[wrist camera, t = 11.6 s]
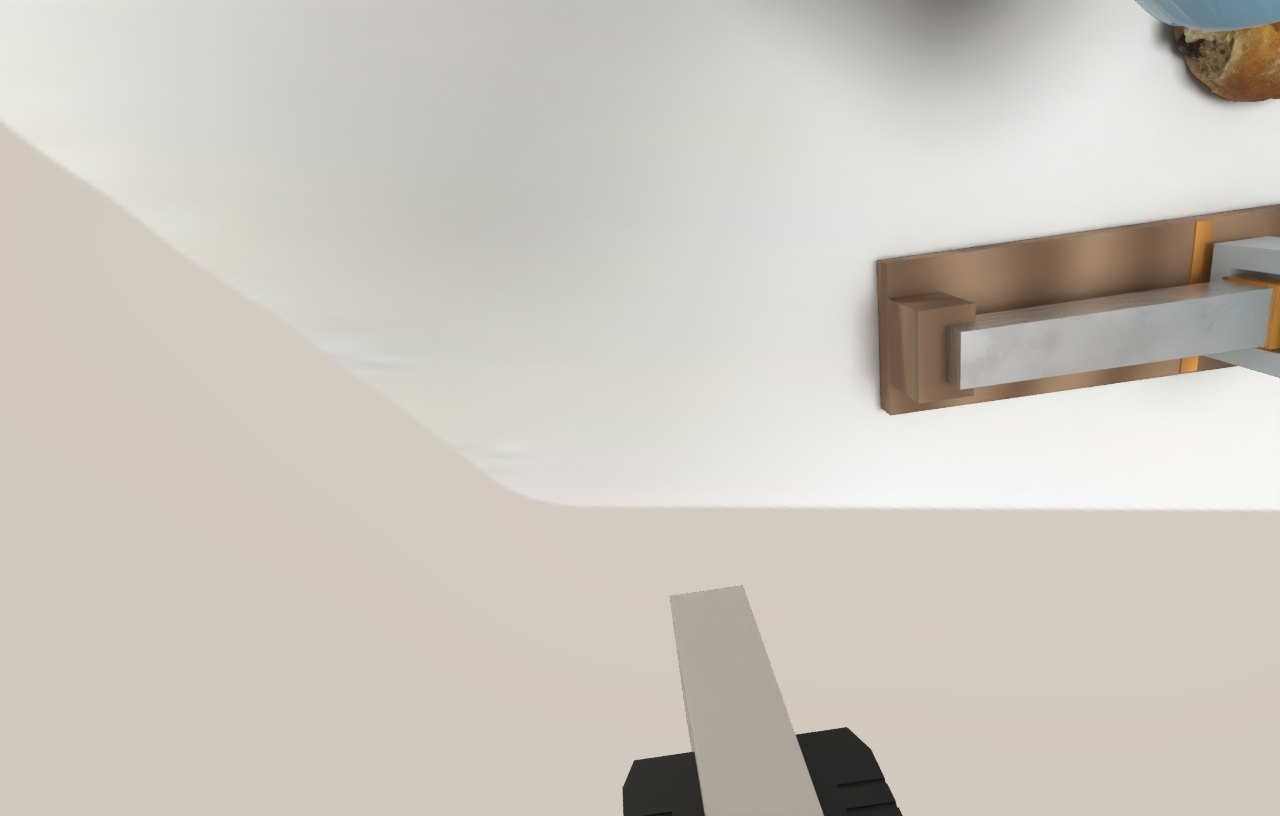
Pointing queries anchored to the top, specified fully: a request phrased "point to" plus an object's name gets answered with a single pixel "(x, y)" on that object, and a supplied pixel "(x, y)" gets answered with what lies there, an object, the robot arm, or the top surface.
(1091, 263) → the base board
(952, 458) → the top surface
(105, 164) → the top surface
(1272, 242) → the slotted grey-blue plate
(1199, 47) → the bread roll
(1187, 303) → the grey square bar
